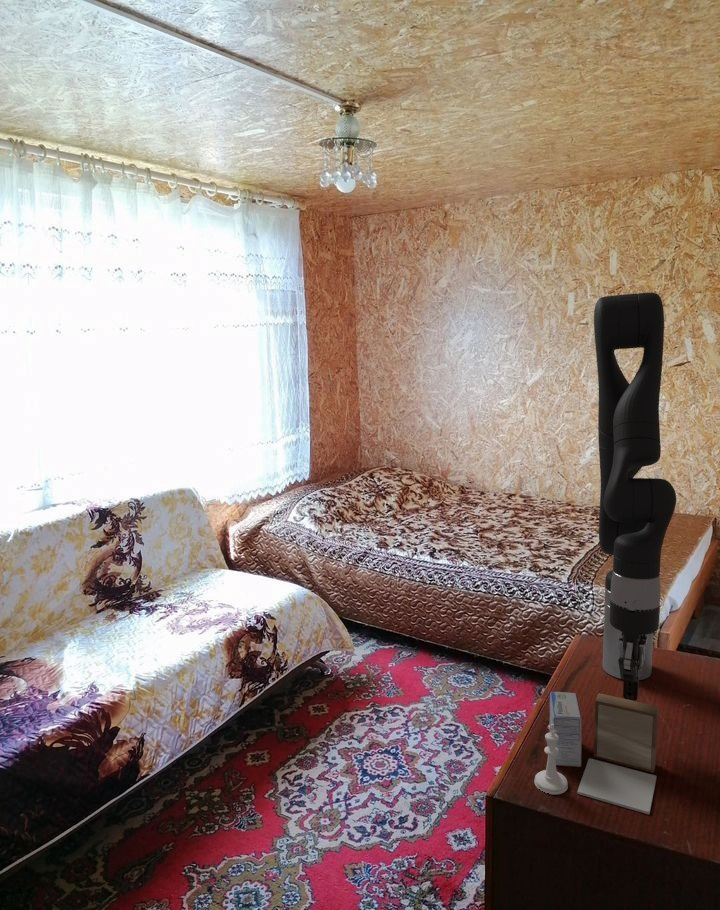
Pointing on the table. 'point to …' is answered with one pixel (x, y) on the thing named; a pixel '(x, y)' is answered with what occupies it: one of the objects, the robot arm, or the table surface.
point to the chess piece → (551, 768)
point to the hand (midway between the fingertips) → (630, 697)
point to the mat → (618, 785)
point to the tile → (626, 732)
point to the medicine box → (566, 727)
